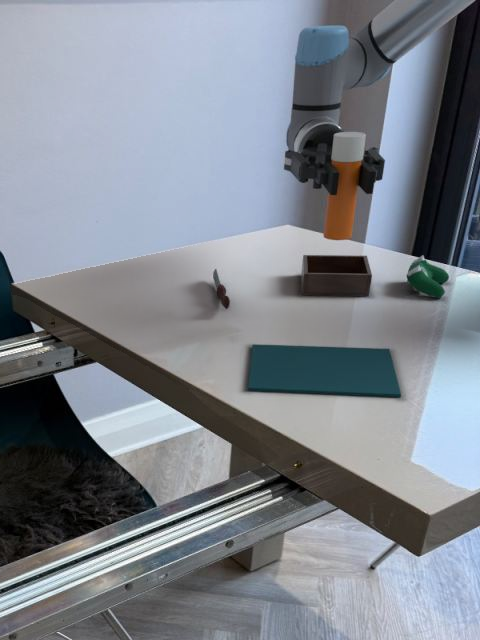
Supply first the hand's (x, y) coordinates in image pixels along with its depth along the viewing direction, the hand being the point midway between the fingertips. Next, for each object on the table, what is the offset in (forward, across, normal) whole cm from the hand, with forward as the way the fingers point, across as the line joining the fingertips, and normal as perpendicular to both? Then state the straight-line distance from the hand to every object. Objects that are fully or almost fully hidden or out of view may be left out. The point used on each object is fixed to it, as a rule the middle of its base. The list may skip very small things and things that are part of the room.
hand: (352, 183), depth 100 cm
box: (-20, -4, -20) cm, 29 cm away
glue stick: (-5, 0, -8) cm, 10 cm away
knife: (-16, +15, -20) cm, 30 cm away
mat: (+13, +4, -20) cm, 24 cm away
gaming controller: (-17, -17, -20) cm, 32 cm away
